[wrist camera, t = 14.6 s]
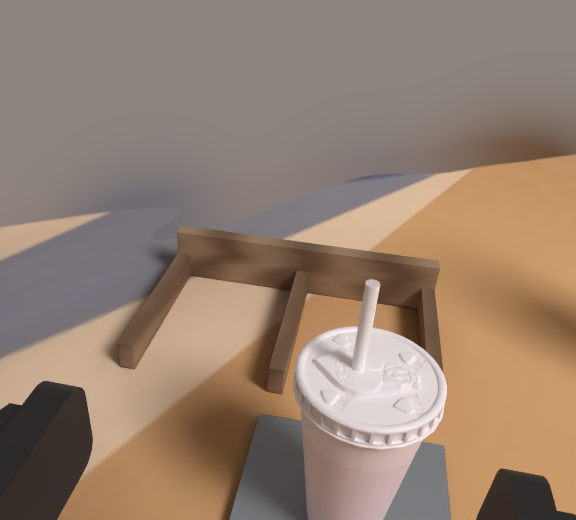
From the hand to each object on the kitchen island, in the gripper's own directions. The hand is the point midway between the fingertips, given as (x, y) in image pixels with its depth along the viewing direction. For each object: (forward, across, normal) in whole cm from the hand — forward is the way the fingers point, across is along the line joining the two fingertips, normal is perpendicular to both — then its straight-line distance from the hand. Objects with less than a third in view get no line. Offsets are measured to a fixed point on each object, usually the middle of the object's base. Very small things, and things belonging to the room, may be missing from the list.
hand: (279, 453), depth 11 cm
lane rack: (+25, +2, +18) cm, 31 cm away
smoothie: (+10, -3, +17) cm, 20 cm away
